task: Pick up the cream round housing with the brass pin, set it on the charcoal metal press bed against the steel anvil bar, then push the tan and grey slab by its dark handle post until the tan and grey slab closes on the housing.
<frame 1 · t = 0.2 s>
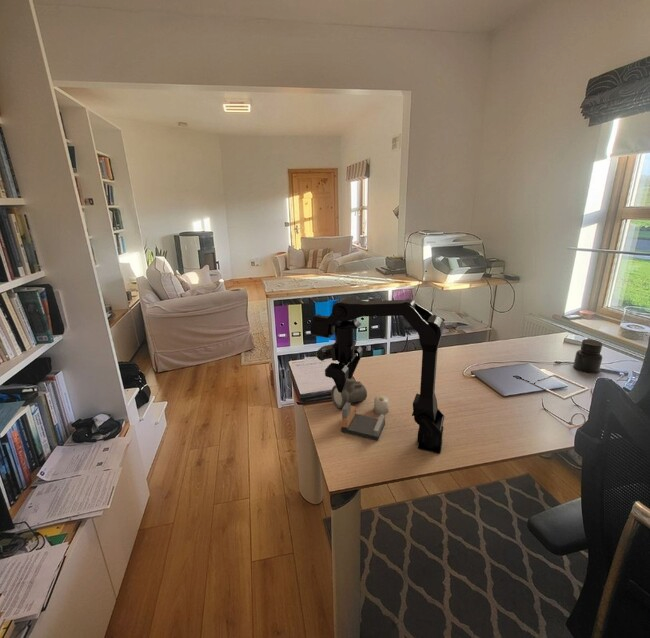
hand: (345, 385, 111), 14 cm above the table, fingers open, 9 cm apart
housing: (381, 410, 122), on the table
photo frame: (552, 384, 138), on the table
ink bottle: (585, 368, 148), on the table
tan and grey slab: (348, 411, 114), point 5 cm above the table, slide at 0.0 cm
press bed: (363, 427, 113), on the table
pipe fitting: (350, 403, 128), on the table
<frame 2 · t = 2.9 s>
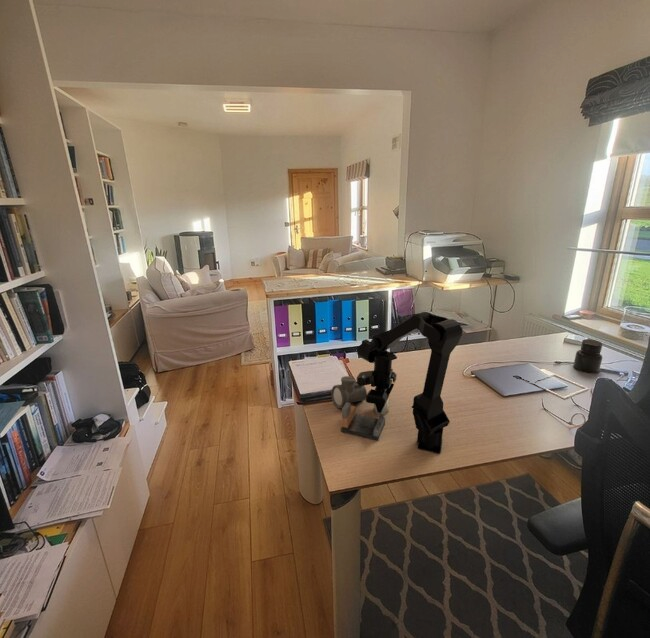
hand: (381, 408, 122), 1 cm above the table, fingers closed on housing, 5 cm apart
housing: (381, 410, 122), on the table, touching gripper
everything else where it was.
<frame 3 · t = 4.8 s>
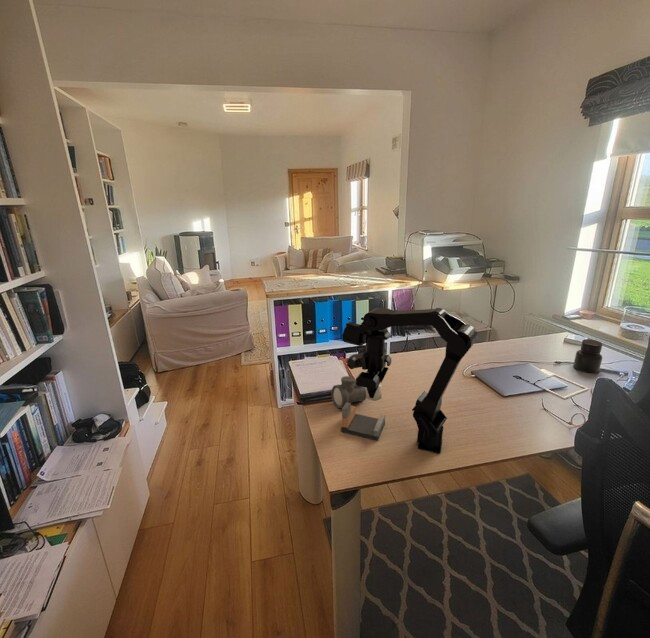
hand: (373, 393, 112), 11 cm above the table, fingers closed on housing, 5 cm apart
housing: (373, 396, 113), point 10 cm above the table, touching gripper
everything else where it was.
when the fingers open (3 cm above the table, at t = 6.9 s): housing stays where it is, resting on press bed.
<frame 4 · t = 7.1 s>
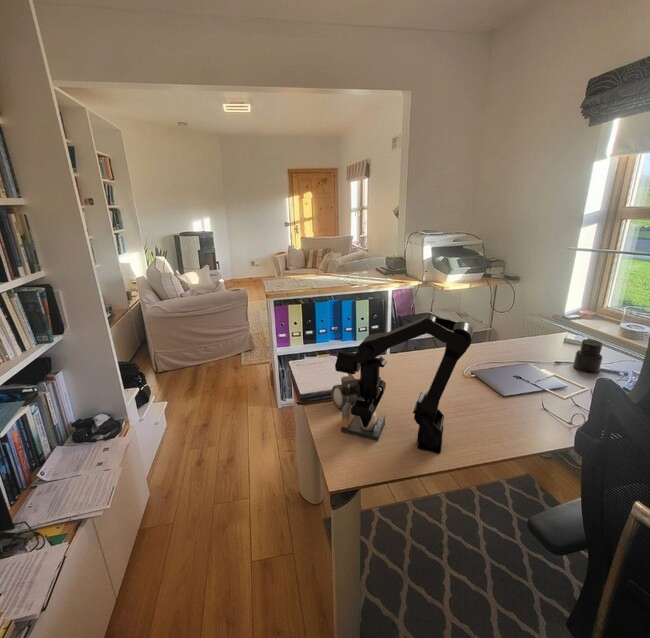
hand: (368, 419, 112), 3 cm above the table, fingers open, 7 cm apart
housing: (368, 425, 112), point 1 cm above the table, touching press bed
everything else where it was.
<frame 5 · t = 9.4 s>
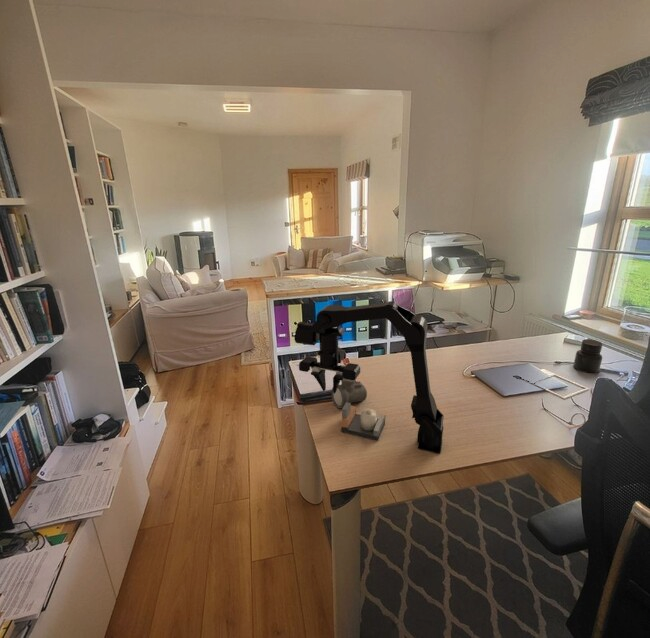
hand: (329, 391, 112), 12 cm above the table, fingers open, 3 cm apart
nothing on the table moved.
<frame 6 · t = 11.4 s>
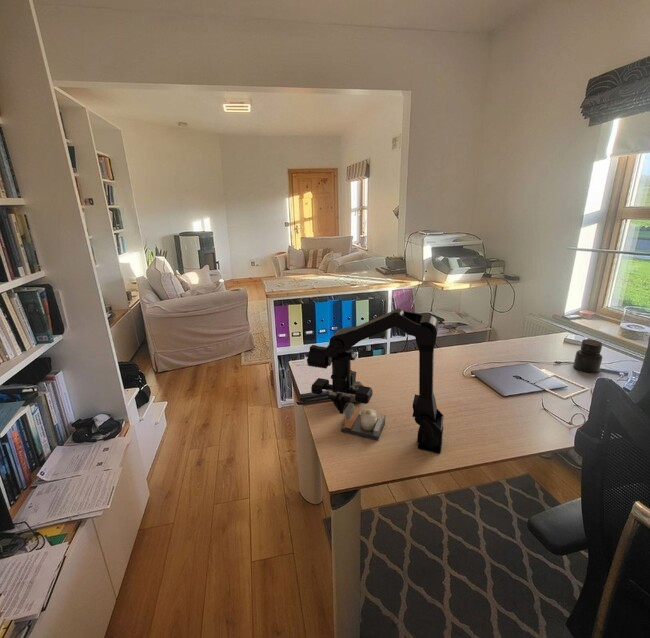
hand: (341, 413, 113), 5 cm above the table, fingers closed
tan and grey slab: (351, 412, 113), point 5 cm above the table, slide at 1.1 cm, touching gripper
everything else where it was.
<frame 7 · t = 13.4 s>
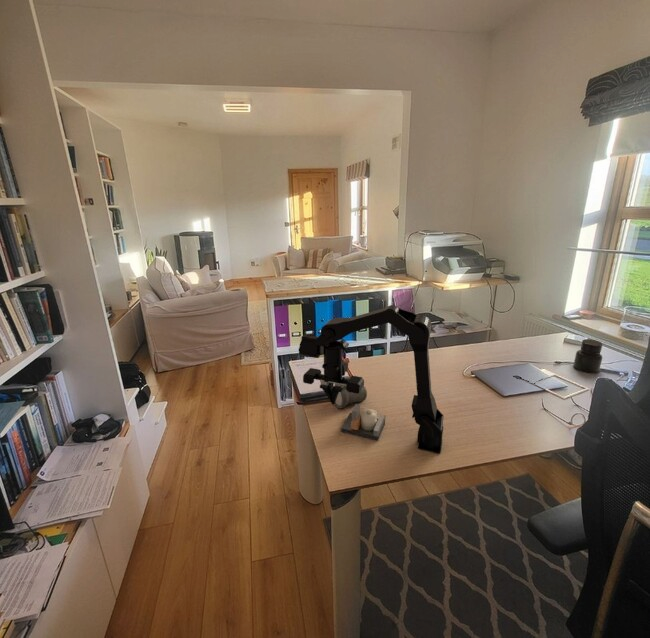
hand: (333, 403, 113), 8 cm above the table, fingers closed
tan and grey slab: (358, 414, 112), point 5 cm above the table, slide at 3.2 cm
everything else where it was.
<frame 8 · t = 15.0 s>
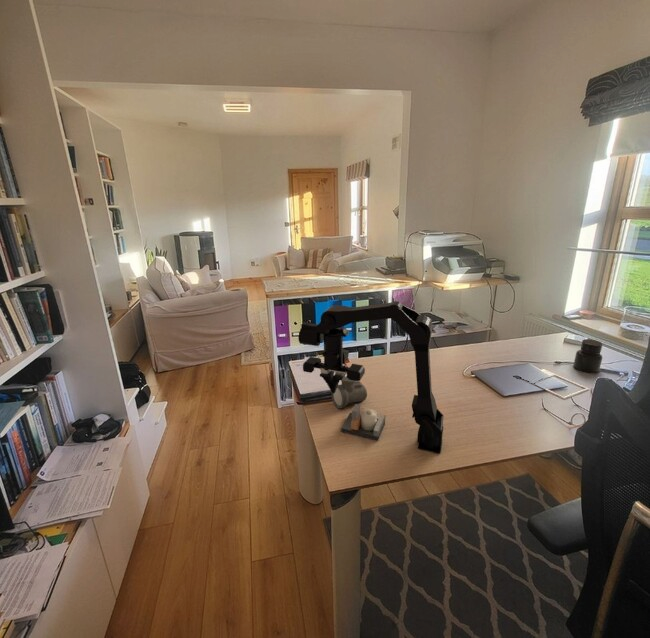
hand: (333, 392, 112), 12 cm above the table, fingers closed
nothing on the table moved.
at the end: housing 0.2 cm from the target spot, point 1.5 cm above the table; tan and grey slab slide at 3.2 cm; housing tilted 0° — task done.
